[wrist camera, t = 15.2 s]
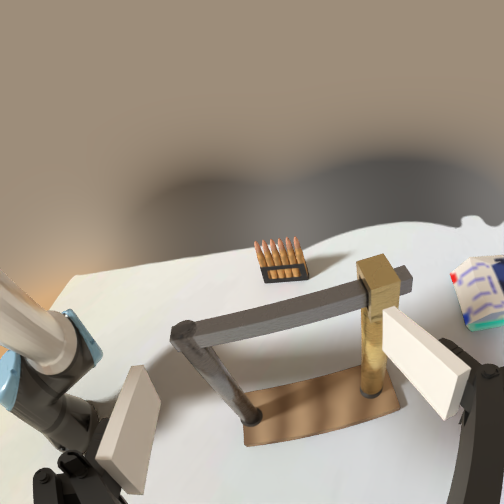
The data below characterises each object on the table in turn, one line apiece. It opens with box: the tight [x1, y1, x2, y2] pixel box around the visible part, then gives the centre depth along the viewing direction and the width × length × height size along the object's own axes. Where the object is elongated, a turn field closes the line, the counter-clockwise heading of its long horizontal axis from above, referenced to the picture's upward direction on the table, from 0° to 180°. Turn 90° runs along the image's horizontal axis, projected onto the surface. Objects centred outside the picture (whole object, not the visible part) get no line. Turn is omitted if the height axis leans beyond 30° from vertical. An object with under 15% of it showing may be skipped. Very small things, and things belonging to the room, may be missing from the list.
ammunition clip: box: [255, 236, 309, 283], centre depth 66 cm, size 11×2×12 cm, turn 78°
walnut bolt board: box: [240, 365, 400, 447], centre depth 42 cm, size 25×10×2 cm, turn 94°
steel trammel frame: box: [170, 265, 413, 425], centre depth 34 cm, size 25×3×24 cm, turn 94°
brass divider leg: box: [356, 254, 401, 395], centre depth 33 cm, size 4×4×25 cm
